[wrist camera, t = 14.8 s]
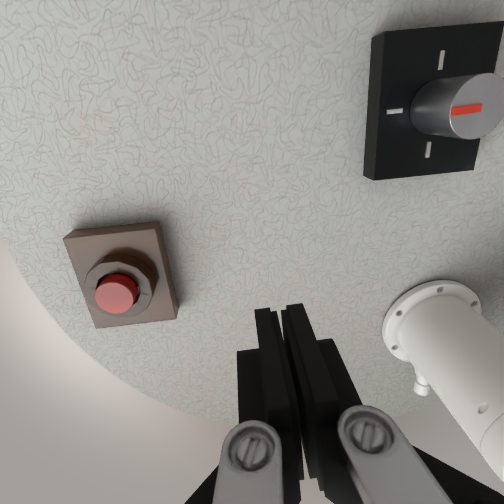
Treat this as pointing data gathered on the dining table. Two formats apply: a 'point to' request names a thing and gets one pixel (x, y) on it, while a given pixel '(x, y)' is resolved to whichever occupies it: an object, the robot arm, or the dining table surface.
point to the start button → (116, 293)
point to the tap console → (405, 88)
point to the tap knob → (459, 106)
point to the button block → (125, 270)
